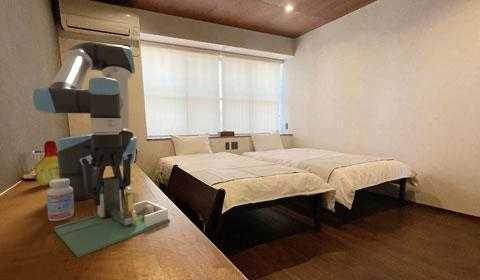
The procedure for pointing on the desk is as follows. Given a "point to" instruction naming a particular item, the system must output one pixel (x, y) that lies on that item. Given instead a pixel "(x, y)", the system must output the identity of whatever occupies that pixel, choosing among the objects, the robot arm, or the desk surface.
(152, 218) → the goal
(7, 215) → the desk surface
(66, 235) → the board
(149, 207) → the ball
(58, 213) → the pill bottle
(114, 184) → the block
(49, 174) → the bottle
